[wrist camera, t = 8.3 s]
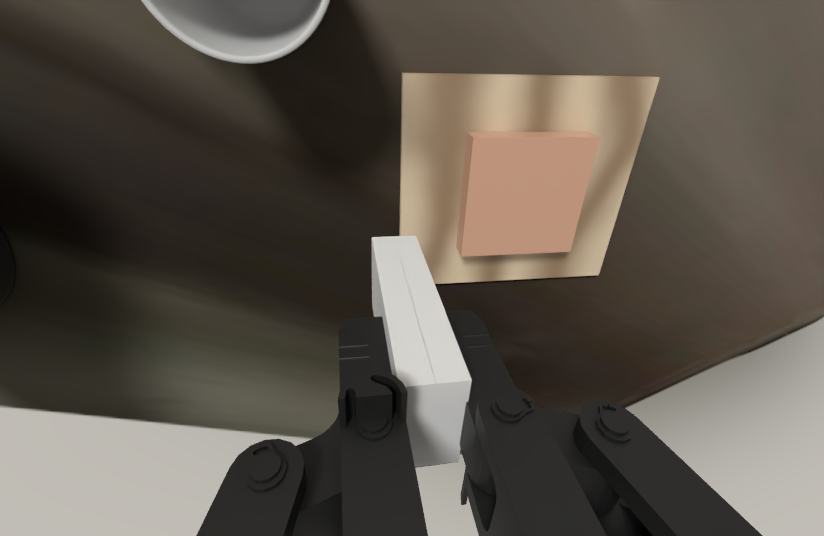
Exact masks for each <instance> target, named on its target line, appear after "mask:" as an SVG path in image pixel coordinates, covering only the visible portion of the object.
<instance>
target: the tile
mask: <svg viewBox="0 0 824 536" xmlns="http://www.w3.org/2000/svg"><path fill="white" fill-rule="evenodd" d="M599 139H600V137H599V136H597V135H594V134H592V133H590V132H467V139H466V149H465V160H464V170H463V181H462V192H461V202H460V213H459V223H458V234H457V245H456V247H457V249H458V251H459V253H460V255H461V257H466V256H488V255H510V254H532V253H554V252H570V251H571V248H572V244H573V240H574V236H575V232H576V228H577V224H578V221H579V217H580V213H581V209H582V205H583V201H584V197H585V193H586V190H587V186H588V182H589V178H590V174H591V170H592V166H593V162H594V159H595V155H596V151H597V147H598V143H599Z"/></svg>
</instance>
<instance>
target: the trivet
mask: <svg viewBox="0 0 824 536" xmlns="http://www.w3.org/2000/svg"><path fill="white" fill-rule="evenodd" d="M658 81H659V77H643V76H579V75H516V74H453V73H402V85H401V160H400V235H399V236H416V237H417V240H418V242H419V245H420V247H421V250H422V253H423V255H424V258H425V260H426V263H427V266H428V268H429V271H430V273H431V276H432V278H433V281H434V284H445V283H463V282H482V281H500V280H519V279H537V278H556V277H575V276H593V275H599V272H600V269H601V266H602V263H603V259H604V256H605V253H606V250H607V246H608V243H609V240H610V237H611V234H612V230H613V227H614V224H615V221H616V217H617V214H618V211H619V208H620V204H621V201H622V198H623V195H624V191H625V188H626V185H627V182H628V179H629V175H630V172H631V169H632V166H633V162H634V159H635V156H636V153H637V149H638V146H639V143H640V140H641V136H642V133H643V130H644V127H645V124H646V120H647V117H648V114H649V111H650V107H651V104H652V101H653V98H654V94H655V91H656V88H657V85H658ZM467 132H590V133H592V134H594V135H597V136H599V137H600V139H599V143H598V147H597V151H596V155H595V159H594V162H593V166H592V170H591V174H590V178H589V182H588V186H587V190H586V193H585V197H584V201H583V205H582V209H581V213H580V217H579V221H578V224H577V228H576V232H575V236H574V240H573V244H572V248H571V251H570V252H554V253H532V254H510V255H488V256H466V257H461V255H460V253H459V251H458V249H457V247H456V245H457V234H458V223H459V213H460V202H461V192H462V181H463V170H464V160H465V149H466V139H467Z"/></svg>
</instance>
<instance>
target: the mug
mask: <svg viewBox="0 0 824 536" xmlns="http://www.w3.org/2000/svg"><path fill="white" fill-rule="evenodd" d="M141 1H142V2H143V4H144V5H145V6H146V8H147V9H148V10H149V11H150V12H151V14H152V15H153V16H154V17H155V18H156V19H157V20H158V21H159V22H160V23H161V24H162V25H163V26H164V27H165V28H166V29H167V30H168V31H170V32H171V33H172V34H173V35H174V36H176V37H177V38H178V39H180V40H181V41H182V42H184V43H185V44H187V45H189V46H190V47H192V48H193V49H195V50H197V51H199V52H201V53H203V54H206V55H208V56H210V57H213V58H216V59H219V60H222V61H226V62H231V63H236V64H262V63H267V62H272V61H275V60H278V59H281V58H284V57H286V56H288V55H290V54H292V53H294V52H295V51H297V50H298V49H300V48H301V47H302V46H303V45H305V44H306V43H307V42H308V41H309V40H310V39H311V38H312V37H313V36H314V35H315V33H316V32H317V31H318V30H319V28H320V27H321V25H322V23H323V22H324V20H325V18H326V16H327V14H328V12H329V9H330V7H331V4H332V1H333V0H141Z"/></svg>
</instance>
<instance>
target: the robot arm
mask: <svg viewBox="0 0 824 536" xmlns="http://www.w3.org/2000/svg"><path fill="white" fill-rule="evenodd" d="M14 279H15V264H14V259H13V255H12V252H11V249H10V247H9V245H8V243H7V241H6V239H5V237H4V235H3V234H2V232H1V230H0V305H1V304H2V303H3V302H4V301H5V300H6V298H7V297H8V295H9V294H10V292H11V290H12V287H13V284H14ZM372 306H373V313H374V317H366V318H351V319H346V320H345V322H344V323H343V325H342V327H341V329H340V330H339V360H340V361H339V363H340V393H339V397H338V406H339V414H338V417H337V419H336V421H335V422H334V423H333V424H332V426H331V427H330V428H329V429H328V430H326V431H325V432H324V433H323V434H321V435H319V436H318V437H316V438H314V439H312V440H309V441H307V442H305V443H302V444H300V445H297V446H295V445H294V444H292V443H291V442H287V441H284V440H281V439H272V440H264V441H262V442H259V443H256V444H254V445H251V446H250V447H249V448H247V449H246V450H245V451H243V452H242V453H241V454H239V455H238V457H237V458H236V459H235V461H234V462H233V464H232V465H231V467H230V468H229V470H228V472H227V474H226V477H225V479H224V480H223V482H222V484H221V487H220V489H219V491H218V493H217V495H216V497H215V499H214V501H213V503H212V505H211V507H210V509H209V511H208V513H207V515H206V517H205V519H204V522H203V524H202V526H201V528H200V530H199V532H198V534H197V536H428V534H427V529H426V523H425V518H424V513H423V507H422V502H421V497H420V491H419V487H418V481H417V476H416V471H415V468H416V467H424V466H432V465H440V464H446V463H455V462H458V460H459V454H460V448H461V451H462V455H463V458H464V461H465V465H466V469H465V474H464V480H463V485H462V491H461V505H464V504H466V502H467V497H468V498H469V502H470V505H471V509H472V512H473V516H474V520H475V523H476V527H477V530H478V533H479V536H762V535H761V534H760V533H759V532H758V531H757V530H756V529H755V528H754V527H753V526H752V525H750V524H749V523H748V522H747V521H746V520H745V519H744V518H743V517H742V516H741V515H740V514H739V513H738V512H737V511H736V510H735V509H734V508H733V507H731V506H730V505H729V504H728V503H727V502H726V501H725V500H724V499H723V498H722V497H721V496H720V495H719V494H718V493H716V491H714V490H713V489H712V488H711V487H710V486H709V485H708V484H707V483H706V482H705V481H704V480H703V479H702V478H701V477H700V476H699V475H698V474H696V473H695V472H694V471H693V470H692V469H691V468H690V467H689V466H688V465H687V464H686V463H685V462H684V461H683V460H682V459H681V458H679V457H678V456H677V455H676V454H675V453H674V452H673V451H672V450H671V449H670V448H669V447H668V446H666V444H665V443H663V441H661V440H660V439H659V438H658V437H657V436H656V435H655V434H654V433H653V432H652V431H651V430H650V429H649V428H648V427H647V426H646V425H644V424H643V423H642V422H641V421H640V420H639V419H638V418H637V417H636V416H634V415H633V414H631V413H630V412H629V411H628V410H626V409H625V408H623V407H620V406H618V405H616V404H613V403H609V402H603V401H597V402H590V403H588V404H587V405H585V406H584V407H583V408H582V410H581V412H580V415H576V414H571V413H565V412H559V411H553V410H549V409H545V408H542V407H540V406H538V405H537V404H536V402H535V401H534V400H533V399H532V397H531V396H529V395H528V394H526V393H525V392H523V391H522V390H520V389H517V388H516V386H515V385H514V383H513V381H512V379H511V377H510V375H509V373H508V371H507V369H506V367H505V365H504V363H503V361H502V359H501V357H500V355H499V353H498V351H497V349H496V347H495V346H494V343H493V341H492V338H491V336H490V335H489V332H488V330H487V328H486V326H485V324H484V322H483V320H482V319H481V318H479V317H478V316H477V315H476V314H475V313H474V312H472V311H471V310H470V309H467V310H452V311H445V310H444V307H443V304H442V302H441V299H440V297H439V294H438V291H437V289H436V286H435V284H434V281H433V278H432V276H431V273H430V271H429V268H428V266H427V263H426V260H425V258H424V255H423V253H422V250H421V247H420V245H419V242H418V240H417V237H416V236H394V237H372Z"/></svg>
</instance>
